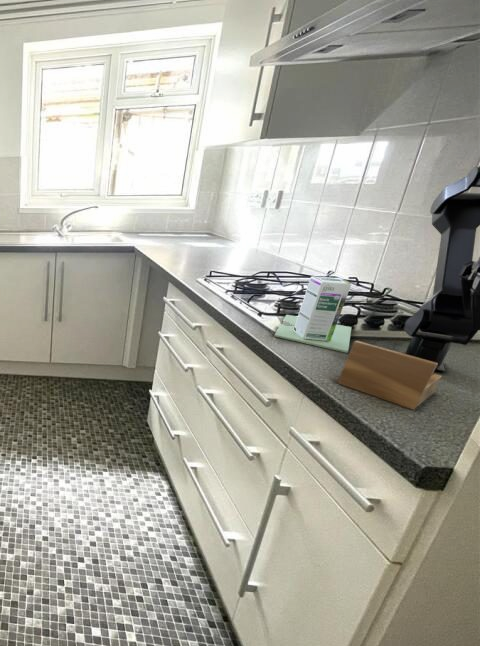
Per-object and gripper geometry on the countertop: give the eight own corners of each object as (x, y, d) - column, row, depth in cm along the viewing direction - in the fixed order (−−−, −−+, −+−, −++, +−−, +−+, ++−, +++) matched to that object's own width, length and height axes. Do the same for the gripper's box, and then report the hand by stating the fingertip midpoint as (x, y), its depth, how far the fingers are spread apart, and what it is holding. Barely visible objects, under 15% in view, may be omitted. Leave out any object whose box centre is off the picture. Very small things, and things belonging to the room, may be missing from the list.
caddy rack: (358, 370, 87) (375, 330, 83) (432, 394, 78) (454, 351, 74) (337, 383, 82) (354, 341, 78) (413, 410, 73) (436, 364, 69)
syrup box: (302, 339, 100) (323, 281, 94) (292, 330, 105) (311, 274, 100) (330, 342, 99) (353, 283, 93) (318, 333, 104) (339, 276, 98)
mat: (285, 316, 117) (286, 314, 117) (350, 328, 108) (351, 327, 108) (274, 336, 103) (274, 334, 103) (347, 353, 95) (348, 351, 94)
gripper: (620, 249, 59) (560, 350, 65) (574, 237, 72) (528, 322, 78) (500, 240, 66) (455, 331, 71) (478, 230, 79) (441, 309, 84)
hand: (472, 323), depth 76 cm, fingers open, 9 cm apart
